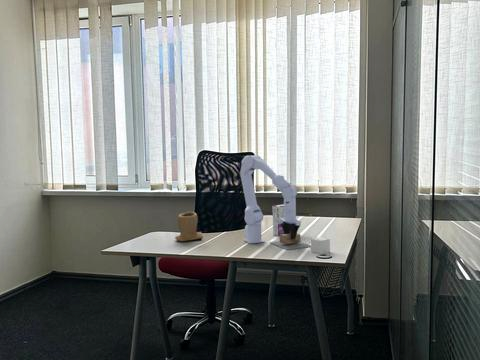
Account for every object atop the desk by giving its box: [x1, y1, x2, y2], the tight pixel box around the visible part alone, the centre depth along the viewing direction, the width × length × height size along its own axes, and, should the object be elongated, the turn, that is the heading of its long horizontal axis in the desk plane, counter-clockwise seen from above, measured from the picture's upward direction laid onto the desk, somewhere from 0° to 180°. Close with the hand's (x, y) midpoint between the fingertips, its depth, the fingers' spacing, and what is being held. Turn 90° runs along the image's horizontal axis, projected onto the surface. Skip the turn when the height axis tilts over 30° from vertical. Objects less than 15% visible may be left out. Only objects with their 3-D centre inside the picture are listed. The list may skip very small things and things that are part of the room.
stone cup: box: [175, 211, 204, 242], centre depth 240 cm, size 15×12×15 cm
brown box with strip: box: [279, 233, 301, 244], centre depth 223 cm, size 9×4×4 cm, turn 120°
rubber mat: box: [269, 240, 311, 251], centre depth 223 cm, size 18×14×1 cm
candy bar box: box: [272, 203, 292, 237], centre depth 250 cm, size 11×5×16 cm, turn 126°
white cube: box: [310, 236, 331, 255], centre depth 207 cm, size 6×6×6 cm
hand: (290, 238), depth 223 cm, fingers closed on brown box with strip, 4 cm apart
